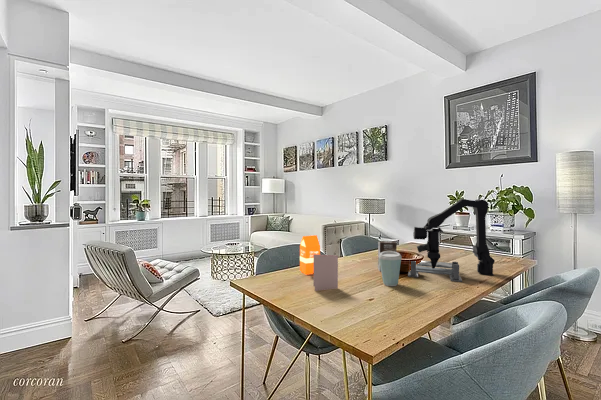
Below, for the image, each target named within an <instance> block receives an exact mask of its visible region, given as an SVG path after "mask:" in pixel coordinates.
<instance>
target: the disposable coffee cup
mask: <svg viewBox="0 0 601 400" xmlns="http://www.w3.org/2000/svg"><path fill="white" fill-rule="evenodd" d="M378 258H379V261H380V267H381V271H380V273H381V277H382V284H383V285H384V286H386V287H396V286H398V284H399V280H400V278H399V277H400V272H401V271H400V270H401V263H402V258H403V257H402V255H401V254H400V252H397V251H396V252H393V251H384V252H381V253H380V255H379V257H378V256H377V259H378Z"/></svg>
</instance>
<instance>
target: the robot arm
mask: <svg viewBox="0 0 601 400" xmlns="http://www.w3.org/2000/svg"><path fill="white" fill-rule="evenodd" d="M464 207H469V208H472V209H473V213H474V215H475V227H476V229H475V230H476V231H475V233H476V234H475V235H476V243H475V245H474V244H473V245H472V253H473V255H474V256H475V257H476V258H477V260H478V263H477V264H476V266H477V267H476V271H477V273H478V274H479V275H484V276H494V264H495V261H496V260H495V259H494V258H493V257H492V256H491V255H490V250H489V249H490V248H489V246H488V244H487V225H486V224H487V223H486V222H487V221H486V217H487V213H488V209H489V201H487V200H485V199H475V200H471V199H466V198H461V199H459V200H458V201H456V202H455V203H453V204H452V205H450V206H449V207H448V208H446V209H444V210H443V211H441V212H440V213H437V214H435V215H433V216H430V217H428V218H427V222H426V223H425V225H424V226H423V227H420V226H419V227H418V226H414V228H413V234H412V235H413V240H424V241H425V239H427V241H426V243H423V244H419V245H417V246H416V248H417V251H418V253H422V252H425V251H426V252H427V254H426V255H427V258H428V259H429V261H431V265H432V268H433V269H434V268H436V267H435V266H436V264H437V262H439V259H441V253H440V233H443V232H444V230H442V228H441V227H440V226H441V225H443V223H444V222H445V221H446V220H447V219H448V218H450V217H451V216H453V215H454V214H455V213H457V212H458V211H460V210H461V209H463V208H464Z"/></svg>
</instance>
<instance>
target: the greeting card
mask: <svg viewBox="0 0 601 400" xmlns="http://www.w3.org/2000/svg"><path fill="white" fill-rule="evenodd" d="M338 268H339V256H338V255H334V254H333V255H331V254H320V255H317V254H314V274H313V287H314V291H315V292H317V291H318V292H319V291H324V290H325V291H326V290H334V289H338V287H339V280H338V278H339V269H338Z"/></svg>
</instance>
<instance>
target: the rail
mask: <svg viewBox="0 0 601 400" xmlns="http://www.w3.org/2000/svg"><path fill="white" fill-rule="evenodd" d="M416 266H421V267H432V265H431V260H421V262H420V263H419V264H417V265H416ZM435 268H445V269H452V262H446V261H438V262H437V264H436V266H435Z"/></svg>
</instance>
